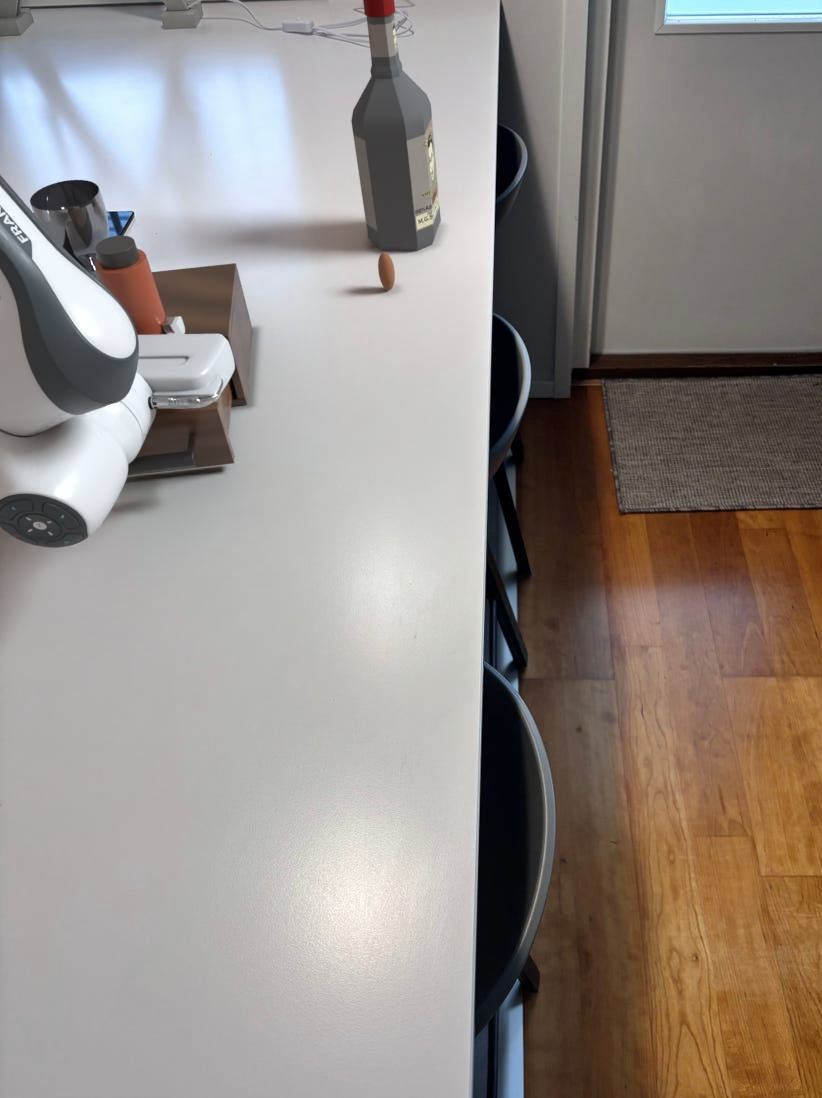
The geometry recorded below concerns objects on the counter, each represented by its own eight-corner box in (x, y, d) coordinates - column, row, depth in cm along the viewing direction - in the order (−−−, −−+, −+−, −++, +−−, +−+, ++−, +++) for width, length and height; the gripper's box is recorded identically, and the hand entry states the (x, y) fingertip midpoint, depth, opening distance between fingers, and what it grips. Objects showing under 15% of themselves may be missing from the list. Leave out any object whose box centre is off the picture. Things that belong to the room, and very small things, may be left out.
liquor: (366, 251, 132) (328, -5, 110) (379, 219, 138) (346, -30, 116) (432, 252, 131) (408, -6, 109) (443, 220, 137) (422, -32, 115)
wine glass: (152, 302, 127) (113, 185, 115) (112, 333, 122) (68, 215, 111) (103, 291, 129) (61, 175, 118) (63, 322, 125) (15, 204, 113)
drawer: (232, 491, 99) (214, 435, 94) (107, 505, 99) (82, 450, 94) (241, 383, 112) (226, 329, 107) (130, 396, 111) (110, 342, 106)
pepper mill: (146, 443, 103) (78, 263, 88) (152, 410, 107) (87, 233, 92) (201, 437, 104) (142, 256, 89) (205, 404, 107) (149, 226, 92)
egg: (394, 294, 125) (389, 256, 121) (379, 293, 125) (373, 255, 121) (398, 286, 126) (393, 248, 122) (383, 285, 126) (378, 248, 123)
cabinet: (247, 404, 111) (228, 335, 104) (124, 418, 110) (97, 349, 103) (253, 330, 121) (235, 262, 114) (140, 342, 120) (117, 275, 114)
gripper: (205, 375, 85) (240, 292, 94) (-21, 377, 87) (35, 295, 96) (223, 434, 90) (255, 349, 99) (9, 435, 91) (60, 352, 101)
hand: (145, 323), depth 97 cm, fingers closed on pepper mill, 5 cm apart
